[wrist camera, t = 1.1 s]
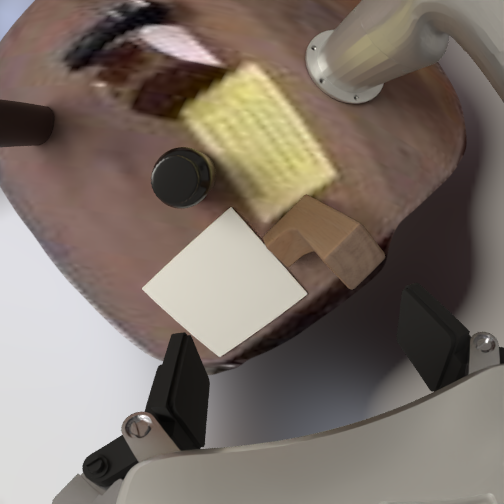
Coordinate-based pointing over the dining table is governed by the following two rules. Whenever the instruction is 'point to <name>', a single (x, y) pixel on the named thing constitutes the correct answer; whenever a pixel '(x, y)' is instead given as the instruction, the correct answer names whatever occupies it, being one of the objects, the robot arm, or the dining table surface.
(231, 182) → the dining table surface
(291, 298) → the off-white mat
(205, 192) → the supplement bottle
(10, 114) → the vinegar
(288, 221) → the wooden block
